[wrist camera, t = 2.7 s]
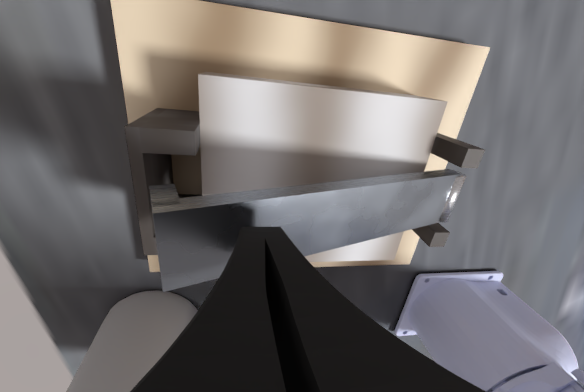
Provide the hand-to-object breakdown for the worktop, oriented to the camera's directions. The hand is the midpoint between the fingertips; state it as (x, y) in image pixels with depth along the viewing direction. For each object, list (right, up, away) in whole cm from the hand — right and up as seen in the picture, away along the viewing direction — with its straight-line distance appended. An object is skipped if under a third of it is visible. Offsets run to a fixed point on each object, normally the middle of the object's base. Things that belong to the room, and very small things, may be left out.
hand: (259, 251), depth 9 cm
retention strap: (+3, +2, +4) cm, 6 cm away
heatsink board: (+2, +4, +9) cm, 10 cm away
